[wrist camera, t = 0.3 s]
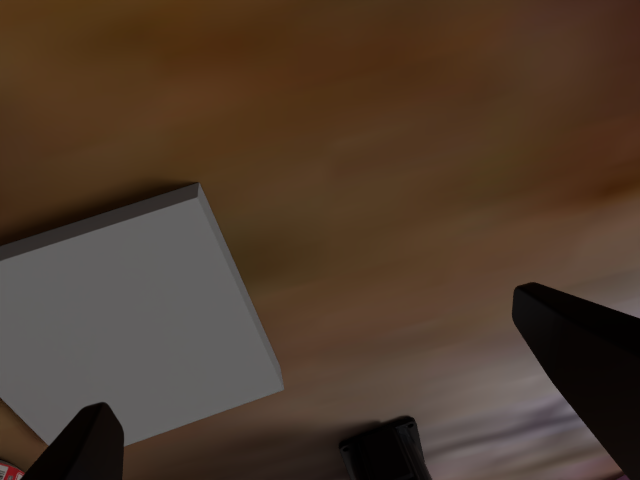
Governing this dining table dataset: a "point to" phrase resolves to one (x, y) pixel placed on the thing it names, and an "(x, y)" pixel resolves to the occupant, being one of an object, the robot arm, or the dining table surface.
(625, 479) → the teakettle
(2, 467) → the soda can
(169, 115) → the dining table surface
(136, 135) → the dining table surface
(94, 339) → the base block
